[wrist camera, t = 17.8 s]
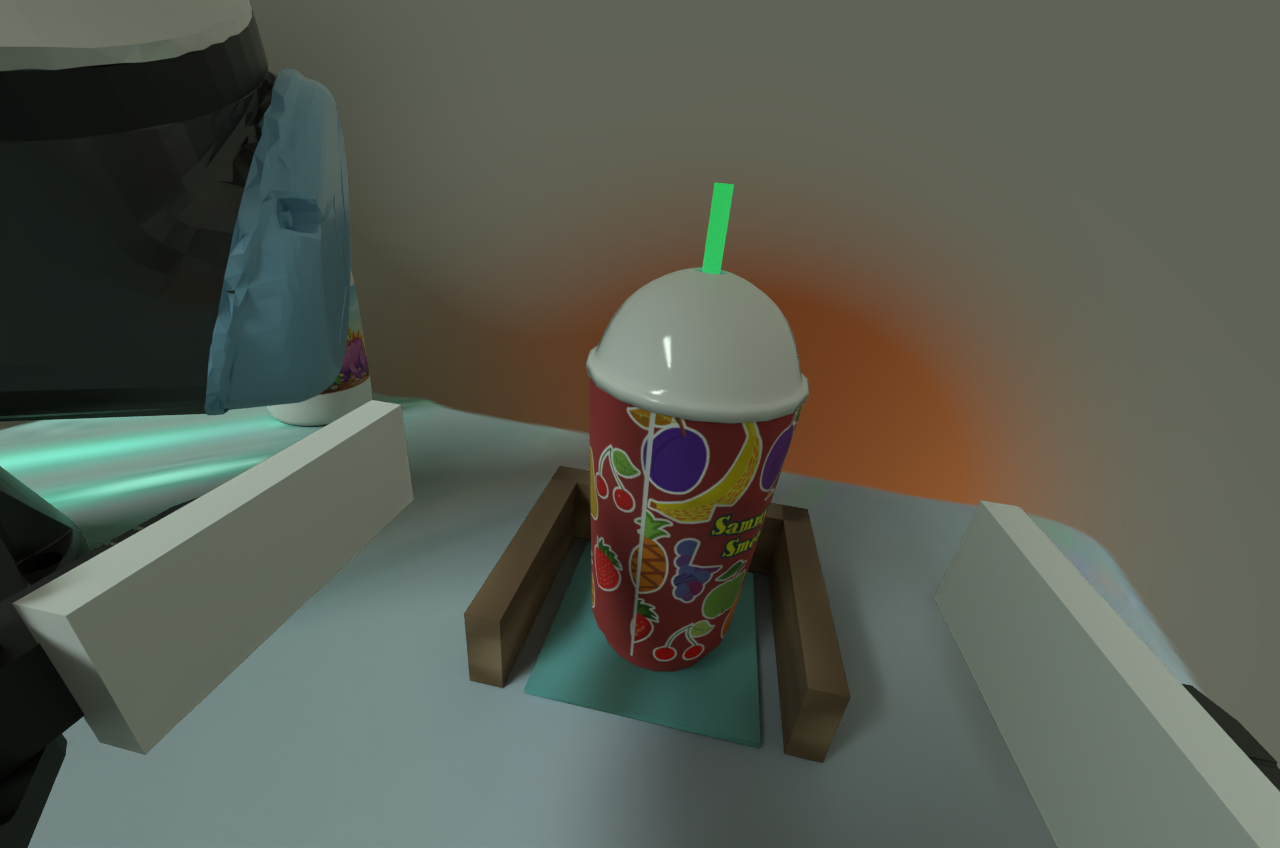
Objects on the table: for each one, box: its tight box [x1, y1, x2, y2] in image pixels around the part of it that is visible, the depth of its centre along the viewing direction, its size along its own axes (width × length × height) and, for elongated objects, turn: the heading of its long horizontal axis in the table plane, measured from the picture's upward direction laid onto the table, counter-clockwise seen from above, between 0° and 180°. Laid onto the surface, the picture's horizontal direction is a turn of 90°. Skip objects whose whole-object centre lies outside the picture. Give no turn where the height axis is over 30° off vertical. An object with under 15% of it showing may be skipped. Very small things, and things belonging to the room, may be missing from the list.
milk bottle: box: [267, 269, 373, 426], centre depth 38 cm, size 8×8×20 cm
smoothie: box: [586, 183, 809, 671], centre depth 20 cm, size 8×8×20 cm
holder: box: [464, 466, 850, 763], centre depth 25 cm, size 15×12×4 cm
